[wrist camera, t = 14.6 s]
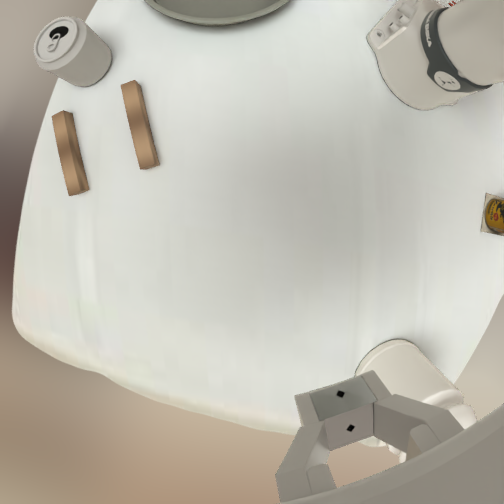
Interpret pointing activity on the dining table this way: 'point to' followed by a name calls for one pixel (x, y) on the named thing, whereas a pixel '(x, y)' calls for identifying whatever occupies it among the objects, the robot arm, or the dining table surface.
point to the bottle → (415, 381)
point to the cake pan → (215, 10)
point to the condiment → (493, 215)
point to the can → (72, 51)
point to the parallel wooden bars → (70, 146)
